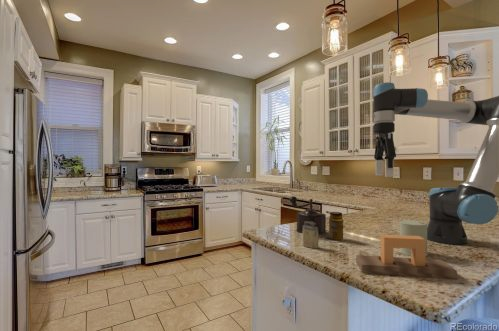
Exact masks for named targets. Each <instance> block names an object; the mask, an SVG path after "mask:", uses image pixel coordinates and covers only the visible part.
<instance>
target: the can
mask: <svg viewBox="0 0 499 331" xmlns="http://www.w3.org/2000/svg"><path fill="white" fill-rule="evenodd" d="M427 226H428V223H427V222H425V221H421V220H412V219H402V220H399V235H406V236H420V237H422V238H424V239H425V257H427V256H429V254H428V239H427ZM399 252H400V253H401V254H403V255H405V256H409V257H411V249H409V248H399Z"/></svg>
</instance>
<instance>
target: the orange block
mask: <svg viewBox="0 0 499 331" xmlns="http://www.w3.org/2000/svg"><path fill="white" fill-rule="evenodd" d="M395 248H396V249H400V248H409V249H411V256H410V258H411V263H412V264H413V265H414V266H425V259H426V256H425V239H424V238H422V237H420V236H406V235H400V234H380V256H381V262H382V264H393V257H394V249H395Z"/></svg>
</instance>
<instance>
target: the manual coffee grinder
mask: <svg viewBox="0 0 499 331" xmlns="http://www.w3.org/2000/svg"><path fill="white" fill-rule="evenodd" d="M297 200H298V198H297V196H295V195H294V196H290V197H289V199H288V201H289V202H290V203H291V207H296V208H305V210H303V211H301V212H297V213H296V232H298V233H301V234H303V226H304V222H305V221H308V222H313V223H316V225H314V227H318V235H321V234H326V233H327V230H326V229H327V227H326V226H327V224H326V222H327V220H326V219H327V218H326V217H327V216H326V213H323V212H318V211H317V210H315V209H313V199H312V198H310V199H309V202H308V203H306V204H303V205H298V204H297ZM308 206H309V207H310V208H306V207H308ZM308 225H309V226H310V224H308Z"/></svg>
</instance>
